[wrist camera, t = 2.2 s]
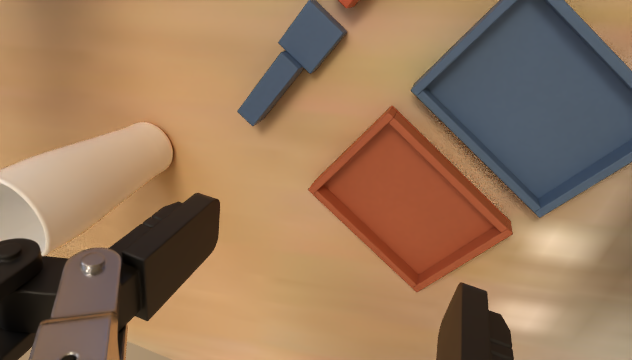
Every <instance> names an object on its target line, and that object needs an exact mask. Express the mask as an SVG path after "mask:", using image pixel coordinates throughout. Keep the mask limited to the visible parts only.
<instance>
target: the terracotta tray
mask: <svg viewBox="0 0 632 360" xmlns="http://www.w3.org/2000/svg"><path fill="white" fill-rule="evenodd" d="M308 190H309V191H310V192H311V193H312V194H313V195H314V196H315V197H316V198H317V199H318V200H319V201H320V202H321V203H322V204H324V205H325V206H326V207H327V208H328V209H329V210H330V211H331V212H332V213H333V214H334V215H335V216H336V217H337V218H338V219H339V220H341V221H342V222H343V223H344V224H345V225H346V226H347V227H348V228H349V229H350V230H351V231H352V232H353V233H354V234H355V235H356V236H358V237H359V238H360V239H361V240H362V241H363V242H364V243H365V244H366V245H367V246H368V247H369V248H370V249H371V250H372V251H373V252H374V253H376V254H377V255H378V256H379V257H380V258H381V259H382V260H383V261H384V262H385V263H386V264H387V265H388V266H389V267H390V268H391V269H393V270H394V271H395V272H396V273H397V274H398V275H399V276H400V277H401V278H402V279H403V280H404V281H405V282H406V283H407V284H408V285H410V286H411V287H412V288H413V289H414V290H415V291H416V292H418V291H420V290H421V289H423V288H425V287H426V286H428V285H430V284H431V283H433V282H435V281H436V280H438V279H440V278H441V277H443V276H445V275H446V274H448V273H449V272H451V271H453V270H454V269H456V268H458V267H459V266H461V265H463V264H464V263H466V262H468V261H469V260H471V259H472V258H474V257H476V256H477V255H479V254H481V253H482V252H484V251H486V250H487V249H489V248H491V247H492V246H494V245H496V244H497V243H499V242H500V241H502V240H504V239H505V238H507V237H509V236H510V235H512V234H513V232H512V227H511V221H510V220H509V219H508V218H507V217H506V216H505V215H504V214H503V213H502V212H501V211H500V210H499V209H498V208H496V207H495V206H494V205H493V204H492V203H491V202H490V201H489V200H488V199H487V198H486V197H485V196H484V195H483V194H482V193H481V192H480V191H479V190H478V189H477V188H476V187H475V186H474V185H473V184H472V183H471V182H470V181H469V180H468V179H467V178H466V177H465V176H464V175H463V174H462V173H461V172H460V171H459V170H458V169H457V168H456V167H455V166H454V165H453V164H452V163H451V162H450V161H449V160H447V159H446V158H445V157H444V156H443V155H442V154H441V153H440V152H439V151H438V150H437V149H436V148H435V147H434V146H433V145H432V144H431V143H430V142H429V141H428V140H427V139H426V138H425V137H424V136H423V135H422V134H421V133H420V132H419V131H418V130H417V129H416V128H415V127H414V126H413V125H412V124H411V123H410V122H409V121H408V120H407V119H406V118H405V117H404V116H403V115H402V114H401V113H400V112H398V111H397V110H396V109H395V108H394V107H393V106H391V107H390V108H389V109H388V110H387V111H386V112H385V113H384V114H383V115H382V116H381V117H380V118H379V119H378V120H377V121H376V122H375V123H374V124H373V125H371V126H370V127H369V128H368V129H367V130H366V131H365V132H364V133H363V134H362V135H361V136H360V137H359V138H358V139H357V140H356V141H355V142H354V143H353V144H352V145H351V146H350V147H349V148H348V149H347V150H346V151H345V152H344V153H343V154H342V155H341V156H340V157H339V158H338V159H337V160H336V161H335V162H334V163H333V164H331V165H330V166H329V167H328V168H327V169H326V170H325V171H324V172H323V173H322V174H321V175H320V176H319V177H318V178H317V179H316V180H315V181H314V183H313V184H312V185H311V187H310V188H309V189H308Z"/></svg>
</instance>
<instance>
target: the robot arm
mask: <svg viewBox="0 0 632 360" xmlns="http://www.w3.org/2000/svg"><path fill="white" fill-rule="evenodd" d="M219 215H220V202H219V200H218V199H215V198H212V197H209V196H206V195H203V194H200V193H195V194H194V195H193V196H191V197H190V198H189V199H188V200H186V201H185V202H184V203H181V202H176V203H174V204H171V205H168V206H165V207H163V208H162V209H160V210H159V211H158V212H156V213H155V214H154V215H152V217H150V218H148V219H147V220H146V221H144V222H143V224H140V225H139V226H138V227H136V228H135V229H134V230H132V231H131V232H130V233H128V234H127V235H126V236H124V237H123V238H122V239H120V240H119V241H118V242H116V243H115V244H114V245H112V246H111V247H110V248H91V249H86V250H83V251H81V252H78V253H77V254H75V255H73V256H72V257H70V258H69V259H67V258H57V257H48V256H42V255H41V250H40V246H39V245H38V243H37V242H35V241H33V240H30V239H25V238H14V239H8V240H3V241H0V360H18V359H19V358H20V357H21V356H22V355H24V354H25V353H26V352H27V351H28V350H29V349H30V348H31V347H32V346H33V347H32V350H31V353H30V357H29V360H125V358H126V346H127V332H128V326H127V323H128V322H129V321H130V320H131V319H132V318H133V317H134V316H136V317H139V318H141V319H143V320H146V321H149V319H150V318H151V317H152V316H153V315H154V314H155V313H156V312H157V311H158V310H159V309H160V308H161V307H162V306H163V304H164V303H165V302H166V301H167V300H168V299H169V298H170V297H171V296H172V295H173V294H174V293H175V292H176V291H177V289H178V288H179V287H180V286H181V285H182V284H183V283H184V282H185V281H186V280H187V279H188V278H189V277H190V276H191V274H192V273H193V272H194V271H195V270H196V269H197V268H198V267H199V266H200V265H201V264H202V263H203V262H204V261H205V259H206V258H207V257H208V256H209V255H210V254H211V253H212V251H213V250H214V248H215V246H216V243H217V240H218V233H219ZM436 360H514V357H513V350H512V341H511V334H510V330H509V328H508V326H507V324H506V323H505V321H504V319H503V317H502V316H501V314H498V313H495V312H492V311H489V310H488V297H487V292H486V291H485V290H482V289H479V288H476V287H473V286H470V285H467V284H464V283H459V285H458V287H457V289H456V291H455V293H454V295H453V298H452V300H451V302H450V304H449V306H448V309H447V311H446V313H445V315H444V318H443V320H442V323H441V326H440V330H439V335H438V345H437V358H436Z"/></svg>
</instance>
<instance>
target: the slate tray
mask: <svg viewBox="0 0 632 360" xmlns="http://www.w3.org/2000/svg"><path fill="white" fill-rule="evenodd" d="M411 91H412V92H413V93H414V94H415V95H416V96H417V97H418V98H419V99H420V100H421V101H422V102H423V103H424V104H425V105H426V106H427V107H428V108H429V109H430V110H431V111H432V112H433V113H434V114H435V115H436V116H437V117H438V118H439V119H440V120H441V121H442V122H443V123H444V124H445V125H446V126H447V127H448V128H449V129H450V130H451V131H452V132H453V133H454V134H455V135H456V136H457V137H458V138H459V139H460V140H461V141H462V142H463V143H464V144H465V145H466V146H467V147H468V148H469V149H470V150H471V151H472V152H473V153H474V154H475V155H476V156H477V157H478V158H479V159H480V160H481V161H482V162H483V163H484V164H485V165H486V166H488V167H489V168H490V169H491V170H492V171H493V172H494V173H495V174H496V175H497V176H498V177H499V178H500V179H501V180H502V181H503V182H504V183H505V184H506V185H507V186H508V187H509V188H510V189H511V190H512V191H513V192H514V193H515V194H516V195H517V196H518V197H519V198H520V199H521V200H522V201H523V202H524V203H525V204H526V205H527V206H528V207H529V208H530V209H531V210H532V211H533V212H534V213H535V214H536V215H537V216H538V217H539V218H540V217H542V216H543V215H545V214H547V213H548V212H550V211H552V210H553V209H555V208H557V207H558V206H560V205H562V204H563V203H565V202H567V201H568V200H570V199H571V198H573V197H575V196H576V195H578V194H580V193H581V192H583V191H585V190H586V189H588V188H590V187H591V186H593V185H594V184H596V183H598V182H599V181H601V180H603V179H604V178H606V177H608V176H609V175H611V174H613V173H614V172H616V171H618V170H619V169H621V168H622V167H624V166H626V165H627V164H629V163H631V162H632V71H631V70H630V69H629V68H628V67H627V65H626V64H625V63H624V62H623V61H622V60H621V59H620V58H619V57H618V56H617V55H616V54H615V53H614V52H613V51H612V50H611V49H610V48H609V47H608V46H607V45H606V44H605V42H604V41H603V40H602V39H601V38H600V37H599V36H598V35H597V34H596V33H595V32H594V31H593V30H592V29H591V28H590V27H589V26H588V25H587V24H586V23H585V22H584V20H583V19H582V18H581V17H580V16H579V15H578V14H577V13H576V12H575V11H574V10H573V9H572V8H571V7H570V6H569V5H568V4H567V3H566V2H565V1H564V0H500V1H499V2H498V3H497V4H496V5H495V6H494V7H492V8H491V9H490V10H489V11H488V12H487V13H486V14H485V15H484V16H483V17H482V18H481V19H480V20H479V21H478V22H477V23H476V24H475V25H474V26H473V27H472V28H471V29H470V30H469V31H468V32H467V33H466V34H465V35H464V36H463V37H462V38H461V39H460V40H459V41H458V42H457V43H456V44H455V45H454V46H452V47H451V48H450V49H449V50H448V51H447V52H446V53H445V54H444V55H443V56H442V57H441V58H440V59H439V60H438V61H437V62H436V63H435V64H434V65H433V66H432V67H431V68H430V69H429V70H428V71H427V72H426V73H425V74H424V75H423V76H422V77H421V78H420V79H419V80H418V81H417V82H416V83H415V84H414V85H413V87H412V89H411Z"/></svg>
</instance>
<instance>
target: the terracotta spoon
mask: <svg viewBox="0 0 632 360" xmlns="http://www.w3.org/2000/svg"><path fill="white" fill-rule="evenodd" d="M338 1H339V2H340V3H341V4H342V5H343V6H344V7H345V8H351V7H354V6H355V5H356V3H357V2H358V1H359V0H338Z"/></svg>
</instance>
